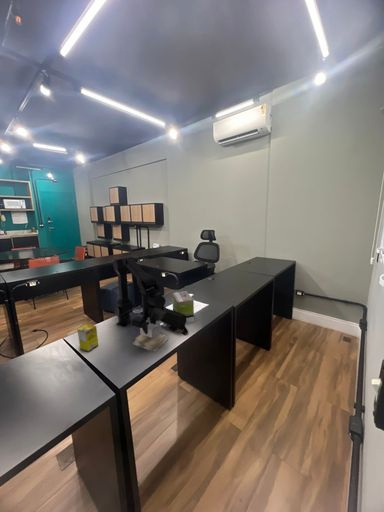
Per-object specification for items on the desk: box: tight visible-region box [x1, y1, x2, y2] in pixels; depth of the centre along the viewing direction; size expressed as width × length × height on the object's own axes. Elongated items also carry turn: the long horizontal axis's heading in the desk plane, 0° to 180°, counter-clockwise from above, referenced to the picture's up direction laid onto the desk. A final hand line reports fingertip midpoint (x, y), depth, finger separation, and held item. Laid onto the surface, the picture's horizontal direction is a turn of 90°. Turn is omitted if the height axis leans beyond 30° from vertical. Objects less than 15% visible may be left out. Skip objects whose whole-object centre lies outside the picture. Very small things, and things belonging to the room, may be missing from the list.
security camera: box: [159, 307, 189, 336], centre depth 118 cm, size 7×18×10 cm, turn 53°
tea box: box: [171, 290, 195, 325], centre depth 130 cm, size 15×10×15 cm
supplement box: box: [77, 323, 99, 353], centre depth 103 cm, size 6×6×11 cm
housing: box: [139, 322, 161, 338], centre depth 106 cm, size 8×5×4 cm, turn 62°
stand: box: [131, 333, 169, 353], centre depth 108 cm, size 14×11×3 cm
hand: (149, 331), depth 107 cm, fingers closed on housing, 5 cm apart
